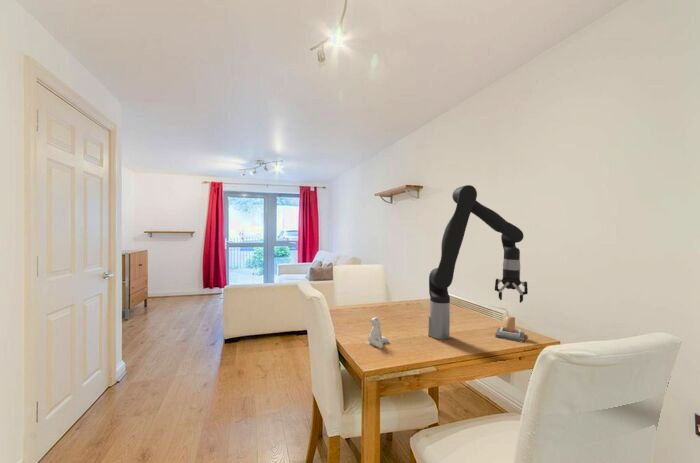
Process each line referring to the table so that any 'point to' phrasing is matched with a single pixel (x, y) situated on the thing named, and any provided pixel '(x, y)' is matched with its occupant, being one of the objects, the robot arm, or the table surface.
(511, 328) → the brown peg
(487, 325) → the table surface
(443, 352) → the table surface
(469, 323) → the table surface
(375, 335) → the white creature statuette
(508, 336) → the housing
